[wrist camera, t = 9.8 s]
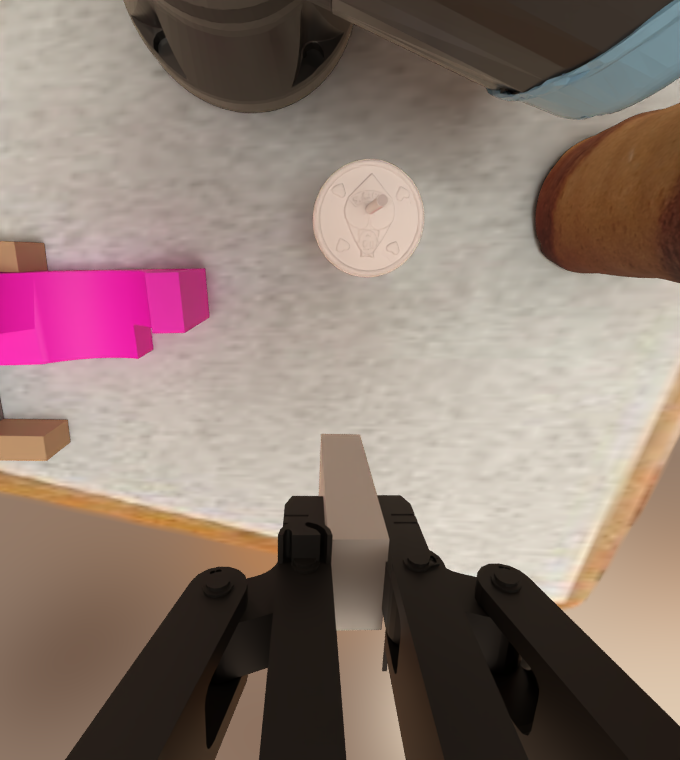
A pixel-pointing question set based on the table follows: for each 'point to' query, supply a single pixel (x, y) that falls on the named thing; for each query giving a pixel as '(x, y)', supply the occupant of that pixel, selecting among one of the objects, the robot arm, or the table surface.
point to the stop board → (3, 434)
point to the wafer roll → (617, 201)
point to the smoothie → (368, 218)
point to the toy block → (95, 312)
